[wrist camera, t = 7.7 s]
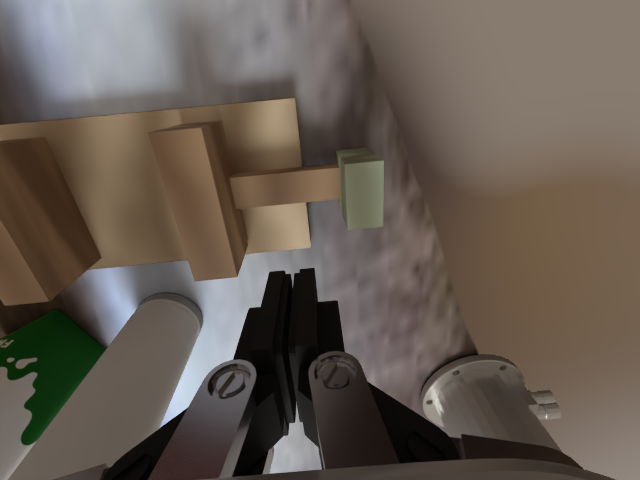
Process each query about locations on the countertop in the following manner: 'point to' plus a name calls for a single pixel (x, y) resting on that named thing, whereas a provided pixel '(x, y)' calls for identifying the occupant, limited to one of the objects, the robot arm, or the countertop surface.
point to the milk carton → (39, 380)
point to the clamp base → (124, 192)
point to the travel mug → (119, 392)
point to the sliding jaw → (251, 192)
